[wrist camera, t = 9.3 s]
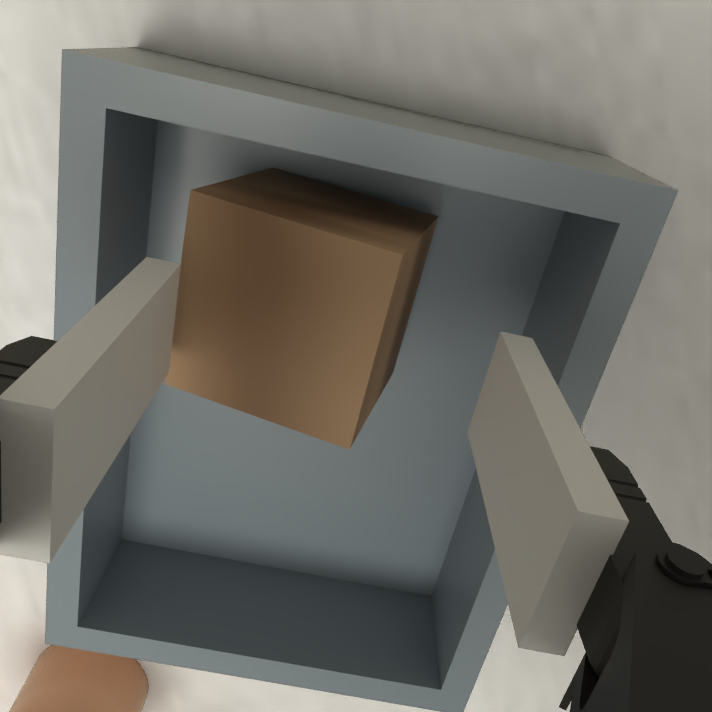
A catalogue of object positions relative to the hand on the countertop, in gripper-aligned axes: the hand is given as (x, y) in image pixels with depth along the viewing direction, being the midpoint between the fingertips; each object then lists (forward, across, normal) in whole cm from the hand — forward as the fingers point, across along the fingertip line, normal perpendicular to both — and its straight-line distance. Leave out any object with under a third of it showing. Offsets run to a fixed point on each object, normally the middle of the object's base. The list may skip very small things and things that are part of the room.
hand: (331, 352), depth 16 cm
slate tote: (+7, 0, +4) cm, 8 cm away
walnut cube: (+5, 0, 0) cm, 5 cm away
